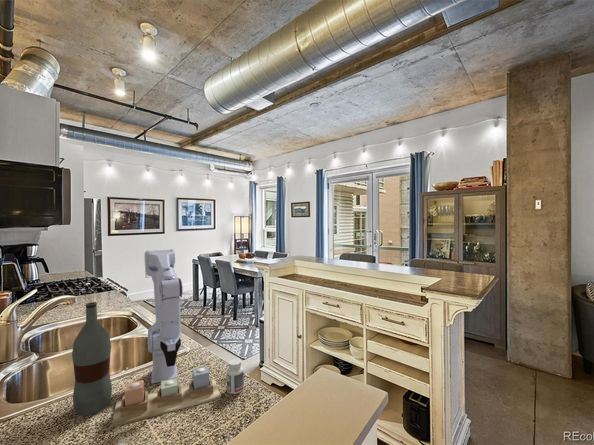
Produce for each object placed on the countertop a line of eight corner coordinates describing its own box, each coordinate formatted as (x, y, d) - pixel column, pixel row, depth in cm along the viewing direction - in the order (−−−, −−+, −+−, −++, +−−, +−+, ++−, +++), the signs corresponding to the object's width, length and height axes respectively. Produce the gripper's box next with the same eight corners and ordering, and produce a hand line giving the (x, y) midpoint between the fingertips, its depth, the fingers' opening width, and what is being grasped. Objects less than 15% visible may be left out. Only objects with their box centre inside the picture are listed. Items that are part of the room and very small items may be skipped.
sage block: (161, 396, 88) (160, 380, 88) (176, 392, 90) (176, 377, 89) (161, 404, 84) (161, 388, 84) (177, 400, 86) (177, 384, 85)
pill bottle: (245, 385, 94) (245, 358, 94) (241, 394, 89) (240, 366, 89) (229, 384, 95) (229, 357, 95) (224, 394, 90) (223, 365, 90)
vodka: (117, 395, 89) (116, 298, 89) (102, 415, 80) (101, 307, 80) (84, 398, 88) (82, 299, 88) (65, 419, 79) (63, 309, 79)
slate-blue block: (192, 383, 91) (192, 368, 91) (207, 379, 93) (207, 365, 93) (194, 390, 88) (194, 375, 87) (209, 386, 89) (209, 371, 89)
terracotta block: (126, 399, 84) (126, 382, 84) (143, 395, 86) (143, 379, 86) (125, 408, 80) (124, 391, 80) (143, 403, 82) (142, 386, 82)
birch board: (116, 403, 85) (116, 393, 85) (214, 380, 98) (214, 371, 98) (111, 427, 76) (111, 416, 76) (220, 398, 88) (220, 388, 88)
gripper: (155, 314, 92) (156, 357, 92) (155, 330, 79) (155, 380, 79) (179, 311, 95) (180, 353, 95) (183, 326, 82) (183, 374, 82)
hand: (170, 365), depth 87 cm, fingers closed
